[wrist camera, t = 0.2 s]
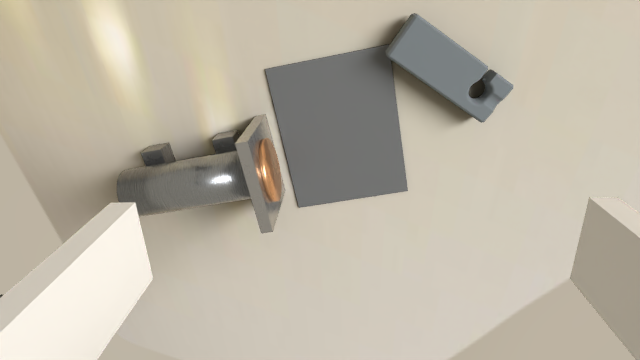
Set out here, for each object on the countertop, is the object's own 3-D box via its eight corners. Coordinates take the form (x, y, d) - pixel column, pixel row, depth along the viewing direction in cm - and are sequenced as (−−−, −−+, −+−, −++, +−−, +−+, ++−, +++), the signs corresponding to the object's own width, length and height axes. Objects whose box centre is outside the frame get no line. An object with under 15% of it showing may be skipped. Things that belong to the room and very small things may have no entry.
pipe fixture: (136, 138, 41) (91, 169, 33) (269, 113, 39) (252, 140, 32) (164, 210, 44) (128, 253, 36) (289, 190, 42) (277, 231, 35)
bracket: (412, 11, 34) (416, 13, 32) (507, 81, 36) (516, 86, 35) (383, 53, 36) (385, 57, 34) (476, 117, 38) (483, 124, 36)
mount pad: (265, 69, 37) (265, 69, 37) (388, 44, 36) (388, 44, 36) (299, 206, 43) (298, 207, 42) (407, 189, 41) (407, 190, 41)
